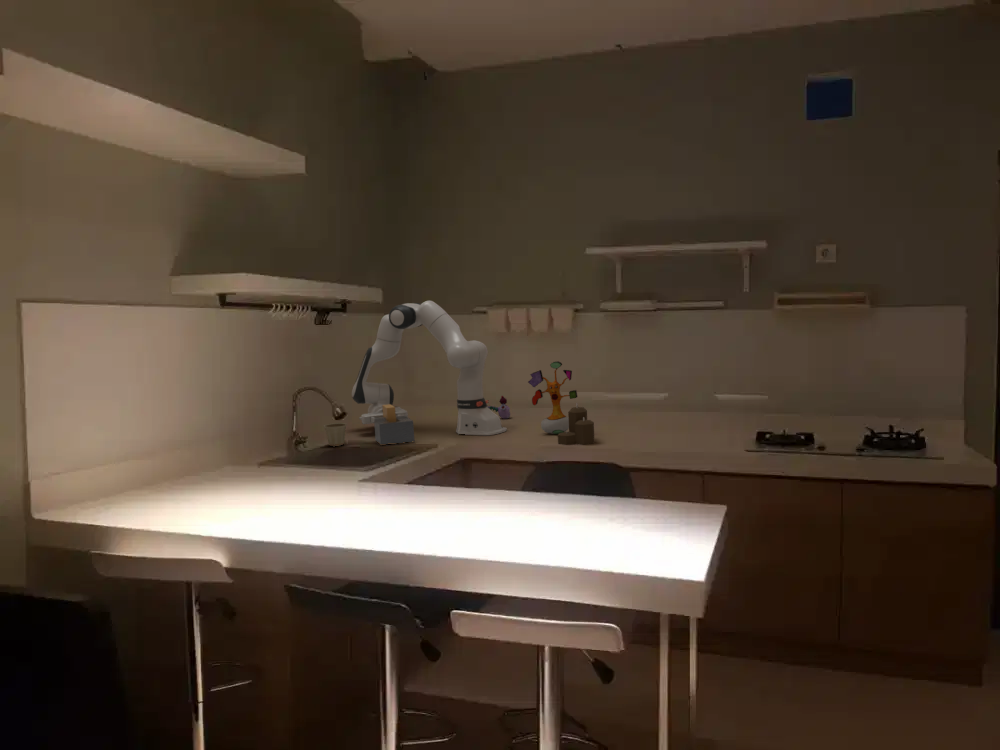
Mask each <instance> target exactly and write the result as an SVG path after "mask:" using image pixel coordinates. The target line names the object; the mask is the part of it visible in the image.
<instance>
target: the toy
mask: <svg viewBox="0 0 1000 750" xmlns="http://www.w3.org/2000/svg"><path fill="white" fill-rule="evenodd" d="M499 403H500V405H498V406H497V405H493V404H487V407H488V408H489V409H490V410H492V411H493V412H494V411H495V413H497V412H498V416H499V418H500V419H504V420H506V419H509V418H510V417H511V411H510V409H511V408H510V407H509V406H508V405H507V403H508V399H507V398H506V397H504V395H501V396H500V399H499Z"/></svg>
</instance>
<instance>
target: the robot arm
mask: <svg viewBox="0 0 1000 750" xmlns="http://www.w3.org/2000/svg"><path fill="white" fill-rule="evenodd" d="M422 326H424V327H425V328H426V329H427V330H428V332H429V333H431V335H432V336H433V337H434V338H435V339H436V340H437V342H438V343H440V345H441V347H442V348H443V350H444V351H445V354H446V357H447V361H448V363H449V364H450V366H452V367H453V368H456V369H460V370H459V371H460V372H459V376H458V378H457V380H456V388H457V389H456V391H457V400H456V407H457V424H456V430H455V432H456V433H457V435H459V434H465V435H469V436H493V435H494V436H495V435H497V434H501V433H502V434H503V433H504V432H507V427H506V426H505V427H504V426H502V421H501V417H500V416H499V414H496V412H494V411H493V409H492V410H490V409H489V408H488V407H487V405H488V403H489V400H488V399H487V400H485V398H484V385H483V384H484V383H483V382H484V380H483V379H484V378H483V377H484V370H485V365H486V359H487V357H488V353H489V351H488V347H487V345H486V344H485V343H483V342H482V341H479V340H475V339H474V340H467V339H466V338H465V336H464V334H463V333H462V331H461V327H460V325H459V324H458V323H457V322H456V321H455V320H454V318H452V317H451V316H450V315H449V314H448V313H447V311H446V310H445V309H444V308H442V307H441V306H440V305H439V304H437V303H436V302H434V301H433V300H426V301H424V302H422V303H419V302H412V303H409V302H407V303H402V304H398V305H397V304H396V305H395V306H394V307H392V308H391V309H390V310H389V313H388V314H385V315H383V317H382V318H381V319H380V322H379V326H378V329H377V334H376V339H375V342H374V344H373V345H372V346H371V347H368V349H367V350H366V351H365V355H364V356H363V359H362V362H361V365H360V368H359V371H358V375H357V377H356V380H355V382H354V385H353V387H352V390H351V398H352V400H353V401H354V402H355V403H357V404H362V405H363V404H369V405H368V408H367V413H362V414H361V416H359V418H358V419H359V420H361V424H363V425H369V424H374V418H382V417H383V407H382V405H388V404H391V405H392V406H394V405H393V404H394V398H395V397H394V396H395V393H394V390H393V388H392V386H391V385H390V384H388V383H381V382H380V383H379V382H371V381H370V382H368V381H367V380H368V377H369V374H370V371H371V368H372V367H373V365H375V364H376V363H378V362H381V361H384V360H385V361H386V360H389V359H391V358H393V357H395V356H397V354H398V353H399V352H400V349H401V344H402V337H403V333H404V331H405V330H406V329H407V330H408V329H414V328H417V327H422ZM394 407H395V414H396V416H401V415H407V416H409V414H408V411H407V410H406V409H405V408H401V406H394Z"/></svg>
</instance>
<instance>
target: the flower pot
mask: <svg viewBox="0 0 1000 750" xmlns="http://www.w3.org/2000/svg"><path fill="white" fill-rule="evenodd" d="M323 428H324V430H325V433H326V438H327V443H328V445H329V444H334V445H335V444H341V443H344V444H345V438H346V437H345V436H346V429H347V423H344V422H343V423H339V422H338V423H329V424H324V425H323Z"/></svg>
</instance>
